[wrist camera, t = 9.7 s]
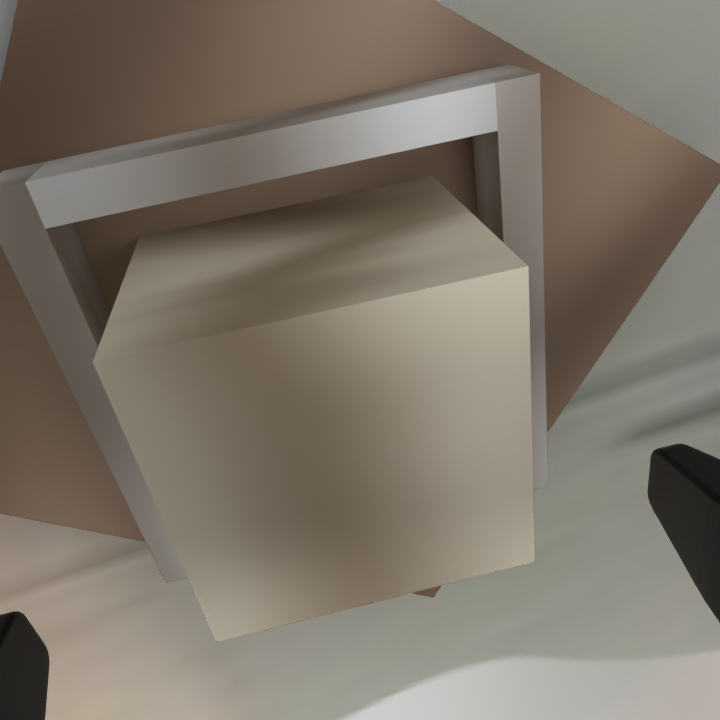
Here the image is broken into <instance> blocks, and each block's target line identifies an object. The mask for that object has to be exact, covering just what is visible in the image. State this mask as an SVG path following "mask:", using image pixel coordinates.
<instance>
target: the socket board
mask: <svg viewBox="0 0 720 720" xmlns="http://www.w3.org/2000/svg"><path fill="white" fill-rule="evenodd" d="M429 176H433V177H434V178H435V179H436V180H437V181H438V182H439V183H440V184H441V185H442V186H443V187H445V188H446V189H447V190H448V191H449V192H450V193H451V194H452V195H453V196H454V197H455V198H456V199H457V200H458V201H459V202H461V203H462V204H463V205H464V206H465V207H466V208H467V209H468V210H469V211H470V212H471V213H472V214H473V215H474V216H475V217H477V218H478V219H479V220H480V221H481V222H482V223H483V224H484V225H485V226H486V227H487V228H488V229H489V230H490V231H491V232H493V233H494V234H495V235H496V236H497V237H498V238H499V239H500V240H501V241H502V242H503V243H504V244H505V245H506V246H508V247H509V248H510V249H511V250H512V251H513V252H514V253H515V254H516V255H517V256H518V257H519V258H520V259H521V260H522V261H524V262H525V263H526V264H527V265H528V267H529V315H530V362H531V409H532V457H533V490H534V489H538V488H542V487H546V486H548V468H547V432H548V431H549V429H550V428H551V426H552V425H553V423H554V422H555V421H556V419H557V418H558V416H559V415H560V413H561V412H562V410H563V409H564V408H565V406H566V405H567V403H568V402H569V400H570V399H571V397H572V396H573V394H574V393H575V392H576V390H577V389H578V387H579V386H580V384H581V383H582V381H583V380H584V379H585V377H586V376H587V374H588V373H589V371H590V370H591V368H592V367H593V366H594V364H595V363H596V361H597V360H598V358H599V357H600V355H601V354H602V352H603V351H604V350H605V348H606V347H607V345H608V344H609V342H610V341H611V339H612V338H613V337H614V335H615V334H616V332H617V331H618V329H619V328H620V326H621V325H622V323H623V322H624V321H625V319H626V318H627V316H628V315H629V313H630V312H631V310H632V309H633V308H634V306H635V305H636V303H637V302H638V300H639V299H640V297H641V296H642V295H643V293H644V292H645V290H646V289H647V287H648V286H649V284H650V283H651V281H652V280H653V279H654V277H655V276H656V274H657V273H658V271H659V270H660V268H661V267H662V266H663V264H664V263H665V261H666V260H667V258H668V257H669V255H670V254H671V252H672V251H673V250H674V248H675V247H676V245H677V244H678V242H679V241H680V239H681V238H682V237H683V235H684V234H685V232H686V231H687V229H688V228H689V226H690V225H691V224H692V222H693V221H694V219H695V218H696V216H697V215H698V213H699V212H700V210H701V209H702V208H703V206H704V205H705V203H706V202H707V200H708V199H709V197H710V196H711V195H712V193H713V192H714V190H715V189H716V187H717V186H718V184H719V183H720V164H718V163H717V162H715V161H713V160H711V159H710V158H708V157H706V156H704V155H703V154H701V153H699V152H697V151H696V150H694V149H692V148H691V147H689V146H687V145H685V144H684V143H682V142H680V141H678V140H677V139H675V138H673V137H671V136H670V135H668V134H666V133H664V132H663V131H661V130H659V129H657V128H656V127H654V126H652V125H650V124H649V123H647V122H645V121H643V120H642V119H640V118H638V117H636V116H635V115H633V114H631V113H629V112H628V111H626V110H624V109H622V108H621V107H619V106H617V105H615V104H614V103H612V102H610V101H608V100H607V99H605V98H603V97H601V96H600V95H598V94H596V93H594V92H593V91H591V90H589V89H588V88H586V87H584V86H582V85H581V84H579V83H577V82H575V81H574V80H572V79H570V78H568V77H567V76H565V75H563V74H561V73H560V72H558V71H556V70H554V69H553V68H551V67H549V66H547V65H546V64H544V63H542V62H540V61H539V60H537V59H535V58H533V57H532V56H530V55H528V54H526V53H525V52H523V51H521V50H519V49H518V48H516V47H514V46H512V45H511V44H509V43H507V42H505V41H504V40H502V39H500V38H498V37H497V36H495V35H493V34H492V33H490V32H488V31H486V30H485V29H483V28H481V27H479V26H478V25H476V24H474V23H472V22H471V21H469V20H467V19H465V18H464V17H462V16H460V15H458V14H457V13H455V12H453V11H451V10H450V9H448V8H446V7H444V6H443V5H441V4H439V3H437V2H436V1H434V0H18V4H17V8H16V13H15V18H14V23H13V28H12V33H11V37H10V42H9V47H8V52H7V57H6V62H5V66H4V71H3V76H2V81H1V86H0V514H5V515H10V516H16V517H21V518H26V519H31V520H36V521H41V522H47V523H52V524H57V525H62V526H67V527H72V528H78V529H83V530H88V531H93V532H98V533H103V534H109V535H114V536H119V537H124V538H129V539H134V540H140V541H145V542H146V543H147V545H148V547H149V549H150V551H151V553H152V555H153V558H154V560H155V562H156V564H157V566H158V568H159V570H160V572H161V574H162V576H163V578H164V580H165V582H166V583H167V582H171V581H175V580H179V579H183V578H187V575H186V573H185V570H184V568H183V566H182V564H181V561H180V559H179V557H178V554H177V552H176V550H175V548H174V545H173V543H172V541H171V539H170V536H169V534H168V532H167V530H166V527H165V525H164V523H163V520H162V518H161V516H160V514H159V511H158V509H157V507H156V505H155V502H154V500H153V498H152V495H151V493H150V491H149V489H148V486H147V484H146V482H145V480H144V477H143V475H142V473H141V471H140V468H139V466H138V464H137V461H136V459H135V457H134V455H133V452H132V450H131V448H130V446H129V443H128V441H127V439H126V437H125V434H124V432H123V430H122V427H121V425H120V423H119V421H118V418H117V416H116V414H115V412H114V409H113V407H112V405H111V403H110V400H109V398H108V396H107V393H106V391H105V389H104V387H103V384H102V382H101V380H100V378H99V375H98V373H97V371H96V368H95V366H94V364H93V360H94V357H95V355H96V352H97V349H98V347H99V344H100V341H101V339H102V336H103V333H104V330H105V328H106V325H107V322H108V320H109V317H110V314H111V312H112V309H113V306H114V303H115V301H116V298H117V295H118V293H119V290H120V287H121V285H122V282H123V279H124V277H125V274H126V271H127V268H128V266H129V263H130V260H131V258H132V255H133V252H134V250H135V247H136V244H137V241H138V239H139V237H141V236H145V235H150V234H155V233H160V232H165V231H169V230H174V229H179V228H184V227H189V226H193V225H198V224H203V223H208V222H213V221H217V220H222V219H227V218H232V217H237V216H241V215H246V214H251V213H256V212H261V211H265V210H270V209H275V208H280V207H285V206H289V205H294V204H299V203H304V202H309V201H313V200H318V199H323V198H328V197H333V196H337V195H342V194H347V193H352V192H357V191H361V190H366V189H371V188H376V187H381V186H385V185H390V184H395V183H400V182H405V181H409V180H414V179H419V178H424V177H429ZM441 586H442V585H441ZM441 586H437V587H433V588H429V589H425V590H421V591H417V592H413V594H418V595H424V596H429V597H434V596H435V594H436V593H437V592H438V590H439V589H440V587H441Z"/></svg>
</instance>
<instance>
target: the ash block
mask: <svg viewBox="0 0 720 720" xmlns="http://www.w3.org/2000/svg"><path fill="white" fill-rule="evenodd" d="M93 364H94V366H95V368H96V371H97V373H98V375H99V378H100V380H101V382H102V384H103V387H104V389H105V391H106V393H107V396H108V398H109V400H110V403H111V405H112V407H113V409H114V412H115V414H116V416H117V418H118V421H119V423H120V425H121V427H122V430H123V432H124V434H125V437H126V439H127V441H128V443H129V446H130V448H131V450H132V452H133V455H134V457H135V459H136V461H137V464H138V466H139V468H140V471H141V473H142V475H143V477H144V480H145V482H146V484H147V486H148V489H149V491H150V493H151V495H152V498H153V500H154V502H155V505H156V507H157V509H158V511H159V514H160V516H161V518H162V520H163V523H164V525H165V527H166V530H167V532H168V534H169V536H170V539H171V541H172V543H173V545H174V548H175V550H176V552H177V554H178V557H179V559H180V561H181V564H182V566H183V568H184V570H185V573H186V575H187V577H188V579H189V582H190V584H191V586H192V588H193V591H194V593H195V595H196V598H197V600H198V602H199V604H200V607H201V609H202V611H203V613H204V616H205V618H206V620H207V623H208V625H209V627H210V629H211V632H212V634H213V636H214V638H215V641H216V642H219V641H223V640H227V639H231V638H235V637H239V636H243V635H247V634H251V633H255V632H259V631H263V630H267V629H271V628H275V627H279V626H282V625H286V624H290V623H294V622H298V621H302V620H306V619H310V618H314V617H318V616H322V615H326V614H330V613H334V612H338V611H342V610H346V609H350V608H354V607H358V606H362V605H366V604H369V603H373V602H377V601H381V600H385V599H389V598H393V597H397V596H401V595H405V594H409V593H413V592H417V591H421V590H425V589H429V588H433V587H437V586H441V585H445V584H449V583H453V582H457V581H460V580H464V579H468V578H472V577H476V576H480V575H484V574H488V573H492V572H496V571H500V570H504V569H508V568H512V567H516V566H520V565H524V564H528V563H532V562H535V552H534V504H533V457H532V409H531V362H530V315H529V267H528V265H527V264H526V263H525V262H524V261H522V260H521V259H520V258H519V257H518V256H517V255H516V254H515V253H514V252H513V251H512V250H511V249H510V248H509V247H508V246H506V245H505V244H504V243H503V242H502V241H501V240H500V239H499V238H498V237H497V236H496V235H495V234H494V233H493V232H491V231H490V230H489V229H488V228H487V227H486V226H485V225H484V224H483V223H482V222H481V221H480V220H479V219H478V218H477V217H475V216H474V215H473V214H472V213H471V212H470V211H469V210H468V209H467V208H466V207H465V206H464V205H463V204H462V203H461V202H459V201H458V200H457V199H456V198H455V197H454V196H453V195H452V194H451V193H450V192H449V191H448V190H447V189H446V188H445V187H443V186H442V185H441V184H440V183H439V182H438V181H437V180H436V179H435V178H434V177H433V176H429V177H424V178H419V179H414V180H409V181H405V182H400V183H395V184H390V185H385V186H381V187H376V188H371V189H366V190H361V191H357V192H352V193H347V194H342V195H337V196H333V197H328V198H323V199H318V200H313V201H309V202H304V203H299V204H294V205H289V206H285V207H280V208H275V209H270V210H265V211H261V212H256V213H251V214H246V215H241V216H237V217H232V218H227V219H222V220H217V221H213V222H208V223H203V224H198V225H193V226H189V227H184V228H179V229H174V230H169V231H165V232H160V233H155V234H150V235H145V236H141V237H139V239H138V241H137V244H136V247H135V250H134V252H133V255H132V258H131V260H130V263H129V266H128V268H127V271H126V274H125V277H124V279H123V282H122V285H121V287H120V290H119V293H118V295H117V298H116V301H115V303H114V306H113V309H112V312H111V314H110V317H109V320H108V322H107V325H106V328H105V330H104V333H103V336H102V339H101V341H100V344H99V347H98V349H97V352H96V355H95V357H94V360H93Z"/></svg>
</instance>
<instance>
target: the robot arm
mask: <svg viewBox="0 0 720 720" xmlns="http://www.w3.org/2000/svg"><path fill="white" fill-rule="evenodd" d="M648 497H649V501H650V504H651V506H652V508H653V510H654V512H655V514H656V516H657V517H658V519H659V521H660V523H661V524H662V526H663V528H664V530H665V532H666V533H667V535H668V537H669V539H670V541H671V542H672V544H673V546H674V548H675V549H676V551H677V553H678V555H679V557H680V558H681V560H682V562H683V564H684V565H685V567H686V569H687V571H688V573H689V574H690V576H691V578H692V580H693V581H694V583H695V585H696V587H697V588H698V590H699V592H700V593H701V595H702V597H703V598H704V600H705V602H706V603H707V605H708V606H709V608H710V609H711V611H712V612H713V614H714V615H715V616H716V618H717V619H718V621H719V622H720V459H718V458H716V457H713V456H711V455H709V454H706V453H704V452H702V451H699V450H697V449H695V448H693V447H690V446H688V445H685V444H674V445H670V446H666V447H662V448H658V449H656V450H654V451H653V453H652V455H651V460H650V471H649V482H648ZM48 675H49V655H48V651H47V648H46V646H45V644H44V643H43V641H42V640H41V638H40V637H39V635H38V634H37V632H36V631H35V629H34V628H33V627H32V625H31V624H30V622H29V621H28V619H27V618H26V616H25V615H24V614H22V613H20V612H15V611H14V612H10V613H6V614H2V615H0V720H45V713H46V700H47V688H48Z"/></svg>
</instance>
